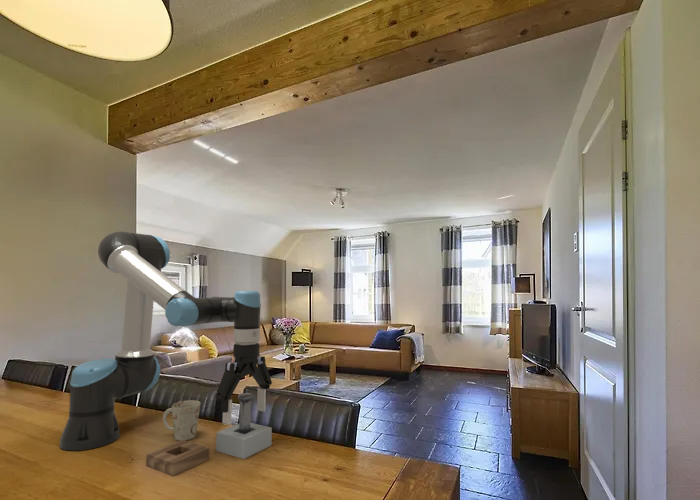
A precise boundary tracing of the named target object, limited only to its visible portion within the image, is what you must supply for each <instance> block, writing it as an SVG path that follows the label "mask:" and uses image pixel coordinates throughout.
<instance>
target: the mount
mask: <svg viewBox="0 0 700 500" xmlns="http://www.w3.org/2000/svg"><path fill="white" fill-rule="evenodd" d="M209 460H210V447H208V446H204V445H201V444H198V443H194V442H192V441H189V440H182V441H179V440H178V441H177V442H174V443H172V444H168V445H167V446H164V447H162V448H158V449H156V450H153V451H150V452H148V453H146V460H145V466H146V467H147V468H151V469H153V470H156V471H159V472H161V473H163V474H166V475H170V476H171V477H174V476H176V475H179V474H180V473H183V472H184V471H187V470H189V469H192V468H193V467H196V466H198V465H200V464H202V463H205V462H206V461H209Z"/></svg>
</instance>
